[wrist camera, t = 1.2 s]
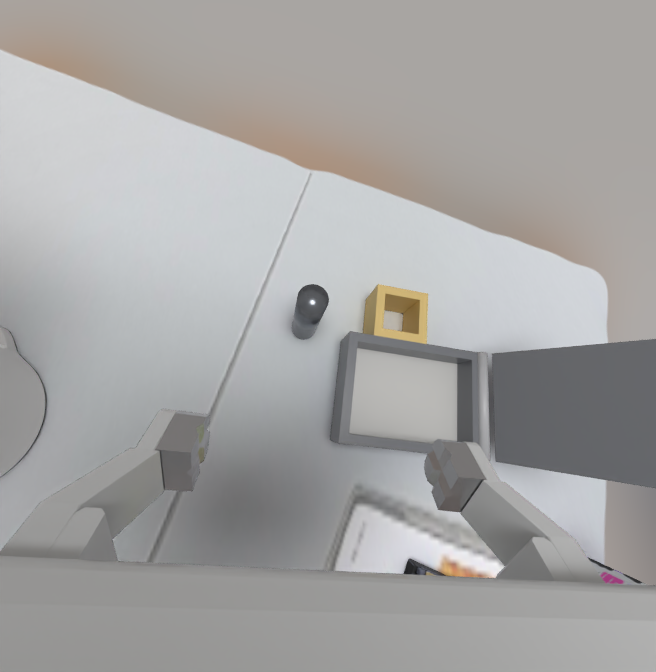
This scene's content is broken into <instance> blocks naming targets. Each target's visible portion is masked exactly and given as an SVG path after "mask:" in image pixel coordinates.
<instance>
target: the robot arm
mask: <svg viewBox="0 0 656 672" xmlns="http://www.w3.org/2000/svg"><path fill="white" fill-rule="evenodd" d="M44 413H45V393H44V389H43V385H42V383H41V380H40V378H39V376H38V375H37V373H36V372H35V370H34V369H33V368H32V367H31V366H30V365H29V364H28V363H27V362H26V361H25V360H24V359H23V358H22V357H21V356H20V355H19V354H18V352H17V350H16V346H15V343H14V340H13V337H12V335H11V333H10V332H9V331H8V330H7V329H5V328H1V327H0V477H1V476H2V475H4V474H5V473H6V472H8V471H9V470H10V469H11V468H12V467H13V466H15V465H16V464H17V463H18V462H19V461H20V459H21V458H22V457H23V456H24V455H25V454H26V452H27V451H28V450H29V448H30V447H31V445H32V444H33V442H34V441H35V439H36V437H37V435H38V433H39V431H40V428H41V425H42V422H43V418H44ZM209 424H210V415H208V414H201V413H193V412H186V411H176V410H169V409H161V410H160V411H159V412H158V413H157V415H156V416H155V418H154V419H153V421H152V422H151V424H150V426H149V427H148V429H147V430H146V432H145V434H144V435H143V437H142V438H141V440H140V441H139V443H138V445H137V446H136V448H129V449H128V450H126V451H124V452H123V453H121V454H119V455H118V456H116V457H114V458H113V459H111V460H109V461H108V462H106V463H104V464H103V465H101V466H100V467H98V468H96V469H95V470H93V471H91V472H90V473H88V474H86V475H85V476H83V477H81V478H80V479H78V480H76V481H75V482H73V483H71V484H70V485H68V486H67V487H65V488H63V489H62V490H60V491H58V492H57V493H55V494H53V495H52V496H50V497H48V498H47V499H45V500H43V501H42V502H40V503H39V505H38V506H37V507H36V508H35V510H34V511H33V512H32V513H31V514H30V516H29V517H28V518H27V519H26V521H25V522H24V523H23V524H22V526H21V527H20V528H19V529H18V530H17V532H16V533H15V534H14V535H13V537H12V538H11V539H10V540H9V541H8V543H7V544H6V545H5V546H4V548H3V549H2V550H1V551H0V672H656V586H655V585H633V584H610V583H605V582H604V581H603V579H602V578H601V576H600V575H599V573H598V572H597V570H596V569H595V568H594V566H593V565H592V563H591V562H590V560H589V559H588V558H587V556H586V555H585V553H584V552H583V550H582V549H581V547H580V546H579V545H578V543H577V542H576V540H575V539H574V538H573V537H572V536H571V535H569V534H568V533H567V532H566V531H564V530H563V529H562V528H561V527H559V526H558V525H557V524H556V523H555V522H553V521H552V520H551V519H550V518H548V517H547V516H546V515H545V514H544V513H542V512H541V511H540V510H539V509H537V508H536V507H535V506H534V505H532V504H531V503H530V502H529V501H528V500H526V499H525V498H524V497H523V496H521V495H520V494H519V493H518V492H516V491H515V490H514V489H513V488H512V487H510V486H509V485H508V484H507V483H505V482H501V481H500V479H499V477H498V476H497V474H496V472H495V471H494V469H493V467H492V466H491V464H490V462H489V461H488V459H487V457H486V456H485V454H484V452H483V451H482V449H481V447H480V446H479V445H478V444H477V443H474V442H464V441H463V442H462V441H454V440H444V439H437V440H435V441H434V443H433V445H432V447H433V451H432V452H430V453H429V454H427V457H426V459H425V464H424V470H425V475H426V478H427V481H428V482H429V483H430V484H431V485H432V486H433V489H432V495H433V497H434V500H435V503H436V506H437V508H438V510H443V511H453V512H461V513H460V514H461V515H462V516H463V517H464V518H465V520H466V521H467V522H468V523H469V524H470V525H471V527H472V528H473V529H474V530H475V531H476V533H477V534H478V535H479V536H480V537H481V538H482V540H483V541H484V542H485V543H486V544H487V546H488V547H489V548H490V549H491V550H492V551H493V553H494V554H495V555H496V556H497V557H498V559H499V560H500V561H501V562H502V563H503V564H504V566H505V567H504V568H503V569H502V570H501V571H500V572H499V573H498V574H497V577H496V578H477V577H455V576H433V575H412V574H390V573H368V572H346V571H324V570H301V569H279V568H257V567H235V566H213V565H190V564H168V563H146V562H124V561H118V559H117V555H116V552H115V548H114V544H113V541H112V539H113V538H114V537H115V536H116V535H117V534H118V533H120V532H121V531H122V530H123V529H124V528H125V527H126V526H127V525H128V524H129V523H130V522H132V521H133V520H134V519H135V518H136V517H137V516H138V515H139V514H140V513H141V512H142V511H144V510H145V509H146V508H147V507H148V506H149V505H150V504H151V503H152V502H153V501H154V500H156V499H157V498H158V497H159V496H160V495H161V494H162V493H163V492H164V490H174V491H193V489H194V486H195V483H196V481H197V478H198V475H199V473H200V463H202V462H203V461H204V459H205V456H206V454H207V450H208V446H209V439H210V432H209V431H208V430H207V429H208V426H209Z"/></svg>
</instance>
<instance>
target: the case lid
mask: <svg viewBox="0 0 656 672" xmlns="http://www.w3.org/2000/svg"><path fill="white" fill-rule="evenodd" d="M492 363H493V395H494V427H495V459H496V462H501V463H507V464H513V465H519V466H525V467H531V468H537V469H543V470H549V471H555V472H561V473H567V474H573V475H579V476H585V477H591V478H597V479H603V480H609V481H615V482H621V483H627V484H633V485H640V486H645V487H651V488H656V339H652V340H640V341H629V342H618V343H606V344H595V345H584V346H573V347H562V348H550V349H539V350H528V351H517V352H506V353H495V354H492Z"/></svg>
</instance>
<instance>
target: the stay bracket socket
mask: <svg viewBox="0 0 656 672" xmlns="http://www.w3.org/2000/svg"><path fill="white" fill-rule="evenodd" d="M384 310H388V311H393V312H399V313H403V327H402V332H401V331H395V330H390V329H384V328H383V321H384ZM427 311H428V294H426V293H421V292H416V291H411V290H405V289H400V288H395V287H390V286H384V285H379V284H378V285H377V286H376V288H375V289H374V290H373V291H372V293H371V294H370V295H369V296H368V298H367V299H366V305H365V316H364V327H363V333H364V334H370V335H376V336H382V337H387V338H393V339H399V340H405V341H411V342H417V343H423V344H426V343H427Z"/></svg>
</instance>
